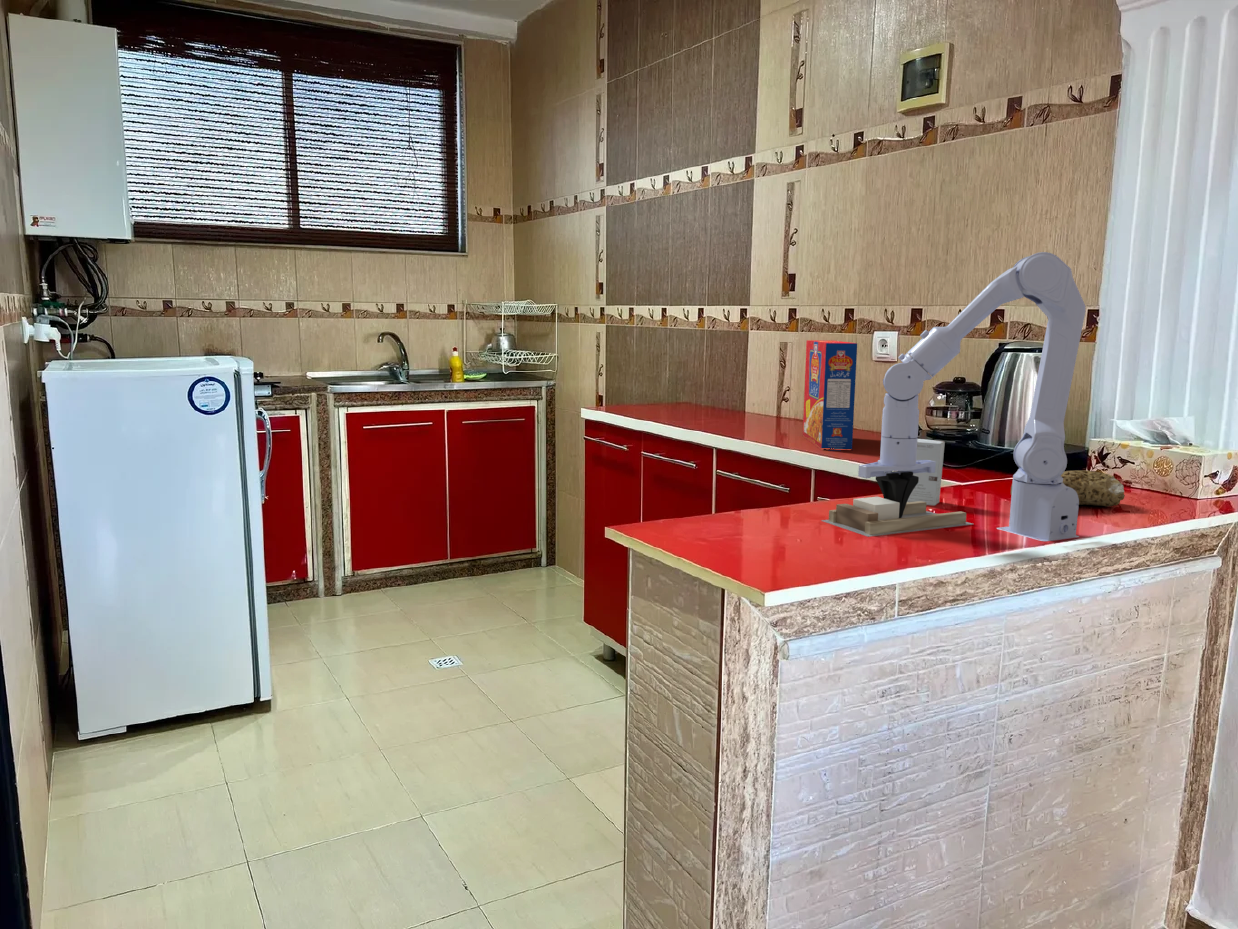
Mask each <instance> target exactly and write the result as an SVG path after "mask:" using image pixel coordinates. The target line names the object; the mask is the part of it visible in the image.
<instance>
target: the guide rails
mask: <svg viewBox="0 0 1238 929" xmlns="http://www.w3.org/2000/svg"><path fill="white" fill-rule="evenodd" d="M926 503H927V502H923V501H917V502H907V503H906V506H905V509H904V512H903V515H906V514H916V513H925V512H926V511H927V505H926ZM828 520H829V521H830V522H837V523H840V524H843V525H846V526H849V527H852V528H855V529H858V530H861V531H864V532H865V533H866V534H869V535H872V534H880V533H889V532H897V531H906V530H914V529H923V528H931V527H940V526H949V525H957V524H966V522H967V512H964V511H953V512H946V513H945V512H944V513H936V514H933V515H924V516H915V517H906V518H897V519H888V520H878V513H876V512H873V511H869V510H866V509H863V508H859V507H856V506H853V504H849V503H838V504H836V506H835V509H830V510H828Z"/></svg>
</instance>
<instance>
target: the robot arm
mask: <svg viewBox="0 0 1238 929" xmlns="http://www.w3.org/2000/svg"><path fill="white" fill-rule="evenodd" d="M1073 276H1074V275H1073V271H1072V268H1071V267H1070V266H1068V265H1067V264H1066V262H1064V260H1062V259H1061V258H1060V257H1059V256H1057V255H1056V254H1054V253H1051V252H1048V251H1042V252H1041V251H1040V252H1036V253H1033V254H1031V255H1029V256H1024V257H1023V258H1021V259H1019V260H1018V261H1017V262H1016V263H1015V264H1014V265H1013V267H1011V268H1008V269H1007V270H1005V271H1004V272H1002V273H1001V274H1000V275H998V276H997V277H996V278H995V279H993V280H992V281H991V282H990V283H988V284H987V286H985V287H984V288H983V289H982V291H980V292H979V293H978V294H977V296H975V297H974V299H972V300H971V301H970V302H969V303H968V305H966V307H965V308H963V309H962V311H960V312H959V313H958V314H957V315H956V316H955V318H954V319H953V320H951V321H950V323H949V324H948V325H946V326H933V327H932V328H931V329H930V330H929V331H928V330H927V329H925V330H924V331H923V332H922V333H921V334H920V335H919V336H920V337H921V339H920V340H919V341H917V342H916V344H915V345H914V346H912V347H911V348H910V349H909V350H908V351H907V352H906V353H901V354H900V355H899V356H897V358H898V359H899V360H900V362H899V363H895V364H893V365H892V366H890V367H889V368H888V369H887V371H885V375H884V377H883V379H882V384H883V387H884V390H885V391H886V393H885V394H884V397H883V404H884V406H883V408H882V415H881V416H882V417H881V434H880V436H881V437H880V453H879V454H880V456H879V459H878V460H877V461H875V462H870V463H865V464H859V465H858V470H857V472H858V473H857V474H858V475H857V477H859V478H864V479H871V478H874V477H875V482H876V483H877V484H878V486H879V489H880V491H881V494H882V496H883V497H882V498H884V499H888V500H892V501H895V502H899V503H900V505H899V518H902V515H903V512H904V509H905V506H906V503H907V501H908V499H909V496H910V494H911V493H912V491H913V489H914V488H915V486H916V485H917V484H918V482H919V477H917V476H913V473H925V472H928V473H935V465H936V461H931V460H916V456H917V440H918V439H919V438H918V436H919V435H918V434H919V421H920V419H919V418H920V409H919V396H920V395H919V394H920V393H921V392H922V390H923V387H924V384H925V383H924V382H925V381H929V380H932V379H933V378H934V377H935V376H936V375H937V374H938V373H940V371H941V370H943V368H945V367H946V366H947V365H948V364H949V363H950V362H951V361H952V360H953V359H955V357H957V356H958V355H959V354H960V353H961V343H962V342H961V341H962V340H963V339H964V337H966V336H967V335H969V334H970V333H971V332H972V331H973V330H974V329H975V328H977V326H979V325H980V324H981V323H982V322H983V321H984V320H985V319H986V318H988V317H989V316H990V315H991V314H992V313H993V312H995V310H996V309H998V308H999V307H1000V306H1002V305H1004V304H1007V303H1010V302H1014V301H1016V300H1019V299H1022V298H1023V299H1024V298H1026V299H1028V300H1030V302H1033V303H1035V305H1036V306H1037V307H1038V308H1039V309H1040V311H1041V312H1042V313H1043V314H1044V315H1045V317H1047V319H1048V320H1047V324H1046V329H1045V334H1044V339H1043V340H1044V341H1043V343H1042V345H1043V346H1042V352H1041V354H1040V362H1039V366H1038V371H1037V375H1036V376H1037V378H1036V382H1035V387H1034V391H1033V398H1032V404H1031V408H1030V414H1029V418H1028V419H1027V422H1026V423H1025V426H1024V429H1023V434H1022V437H1021V438H1020V440H1018V442H1017V443H1016V445H1015V447H1014V449H1013V460H1014V462H1015V464H1016V466H1017V467H1018V469H1017V471H1016V472H1015V473H1014V474H1013V475H1012V483H1011V486H1012V496H1011V497H1010V509H1009V511H1010V512H1009V521H1008V526H1002V527H996V529H997V530H1001V531H1004V532H1007V533H1011V534H1013V535H1014V534H1015V535H1018V536H1022V537H1026V538H1030V539H1033V540H1037V541H1041V542H1053V541H1059V540H1067V539H1075V538H1079V537H1080V536H1079V535H1077V527H1078V516H1079V498H1078V495H1077V492H1076V491H1075V490H1074V489H1072V488H1070V487H1067V486H1065V485H1064V484H1063V478H1062V477H1061V475H1062V474H1063V472H1064V471H1065V470H1066V468H1067V464H1068V458H1067V454H1066V452H1065V447H1064V446H1065V440H1066V434H1065V433H1066V431H1065V425H1064V424H1065V423H1064V422H1065V419H1066V418H1065V417H1066V412H1067V406H1068V403H1069V402H1068V401H1069V399H1070V398H1069V397H1070V392H1071V386H1072V381H1073V377H1074V371H1075V367H1076V362H1077V357H1078V356H1077V355H1078V352H1079V346H1080V341H1081V336H1082V330H1083V326H1084V320H1085V316H1086V304H1085V302H1084V299H1083V297H1082V295H1081V293H1080V290H1079V288H1078V285H1077V284H1076V281H1075V280H1074V277H1073Z"/></svg>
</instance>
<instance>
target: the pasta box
mask: <svg viewBox="0 0 1238 929" xmlns="http://www.w3.org/2000/svg"><path fill="white" fill-rule="evenodd" d="M805 346H806V348H805V371H804V372H805V373H804V391H803V392H804V394H803V395H804V396H803V414H802V416H803V420H802V436H803V435H804V436H805V437H807V438H808V439H810V440H812V441H813V442H814V443H815V444H817V445H818V446H819V447H820V448H830V449H831V448H832V449H833V448H834V449H852V450H853V438H854V421H855V420H854V417H855V416H854V415H855V396H856V395H855V394H856V376H857V374H856V373H857V358H858V343H857V342H849V341H841V340H814V339H811V340H810V339H807V340H806V344H805Z"/></svg>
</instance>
